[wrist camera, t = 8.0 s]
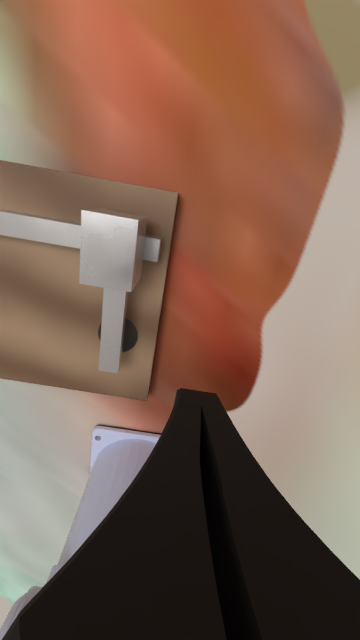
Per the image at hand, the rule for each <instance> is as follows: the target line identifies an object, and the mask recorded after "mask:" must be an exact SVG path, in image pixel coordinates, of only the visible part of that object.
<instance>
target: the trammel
mask: <svg viewBox="0 0 360 640" xmlns="http://www.w3.org/2000/svg"><path fill="white" fill-rule="evenodd" d="M147 218H148V217H144V216H139V215H133V214H128V213H122V212H117V211H111V210H105V209H87V210H81V223H80V222H74V221H68V220H63V219H57V218H52V217H46V216H40V215H35V214H29V213H23V212H18V211H12V210H6V209H1V208H0V235H4V236H10V237H15V238H21V239H27V240H33V241H38V242H44V243H50V244H56V245H61V246H67V247H73V248H79V249H80V280H79V284H85V285H91V286H97V287H103V288H104V292H103V308H102V324H101V340H100V356H99V371H105V372H112V373H119V370H120V368H121V359H122V349H123V339H124V329H125V318H126V308H127V298H128V292H132V290H133V289H134V287H135V285H136V284H137V282H138V281H139V279H140V278H141V271H142V262H143V260H148V261H153V262H158V260H159V258H160V251H161V244H162V237H159V236H153V235H147V234H146V227H147Z"/></svg>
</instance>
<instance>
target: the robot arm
mask: <svg viewBox="0 0 360 640" xmlns="http://www.w3.org/2000/svg"><path fill="white" fill-rule="evenodd" d="M98 436H100V437H98ZM0 640H360V580H359V579H358V578H357V577H356V576H355V575H354V574H353V573H352V572H351V571H350V570H349V569H348V568H347V567H346V566H345V565H344V564H343V563H342V562H341V561H340V560H339V559H338V557H337V556H335V554H333V552H332V551H331V550H330V549H329V548H328V547H327V546H326V545H325V544H324V543H323V542H322V540H321V539H320V538H319V537H318V536H317V535H316V534H315V533H314V532H313V531H312V530H311V529H310V528H309V526H308V525H307V524H306V523H305V522H304V521H303V520H302V519H301V517H300V516H299V515H298V514H297V513H296V512H295V511H294V509H293V508H292V507H291V506H290V505H289V503H288V502H287V501H286V500H285V498H284V497H283V496H282V495H281V493H280V492H279V491H278V490H277V488H276V487H275V486H274V484H273V483H272V482H271V481H270V479H269V478H268V477H267V475H266V474H265V472H264V471H263V469H262V468H261V467H260V465H259V464H258V462H257V461H256V459H255V458H254V457H253V455H252V454H251V452H250V451H249V449H248V448H247V446H246V444H245V443H244V441H243V439H242V438H241V436H240V435H239V433H238V431H237V430H236V428H235V426H234V425H233V423H232V421H231V419H230V418H229V416H228V414H227V412H226V411H225V409H224V407H223V405H222V403H221V401H220V399H219V397H218V396H217V394H215V393H208V392H202V391H195V390H189V389H183V388H180V389H179V390H177V393H176V398H175V403H174V407H173V410H172V412H171V415H170V417H169V419H168V421H167V424H166V426H165V428H164V430H163V432H162V434H161V435H158V434H151V433H145V432H138V431H131V430H125V429H118V428H111V427H105V426H95V427H94V429H93V431H92V445H91V462H90V477H89V479H88V482H87V485H86V488H85V490H84V493H83V496H82V499H81V501H80V504H79V507H78V510H77V512H76V515H75V518H74V521H73V523H72V526H71V529H70V532H69V534H68V537H67V540H66V543H65V545H64V548H63V551H62V554H61V556H60V559H59V562H58V565H55V566H53V567H52V570H51V573H50V575H49V578H48V581H47V583H46V584H45V585H44V586H43V587H38V586H33V587H31V588H30V589H29V590H28V592H27V593H25V594H24V595H23V596H21V597H20V598H19V599H18V600H17V601H16V602H15V603H14V605H13V606H12V608H11V610H10V612H9V613H8V615H7V617H6V619H5V621H4V623H3V625H2V627H1V629H0Z"/></svg>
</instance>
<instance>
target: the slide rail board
mask: <svg viewBox="0 0 360 640" xmlns="http://www.w3.org/2000/svg"><path fill="white" fill-rule="evenodd" d="M178 195H179V193H176V192H170V191H165V190H160V189H154V188H149V187H143V186H138V185H132V184H127V183H121V182H116V181H111V180H105V179H100V178H94V177H89V176H83V175H78V174H73V173H67V172H62V171H56V170H51V169H45V168H40V167H34V166H29V165H24V164H18V163H13V162H7V161H2V160H0V208H1V209H6V210H12V211H18V212H23V213H29V214H35V215H40V216H46V217H52V218H57V219H63V220H68V221H74V222H80V223H81V210H87V209H105V210H111V211H117V212H122V213H128V214H133V215H139V216H144V217H148V218H147V227H146V234H147V235H153V236H159V237H162V244H161V251H160V258H159V260H158V262H153V261H148V260H143V262H142V271H141V278H140V279H139V281H138V282H137V284H136V285H135V287H134V289H133V290H132V292H128V298H127V308H126V318H125V329H124V339H123V349H122V359H121V368H120V370H119V373H112V372H105V371H99V356H100V340H101V324H102V308H103V292H104V288H103V287H97V286H91V285H85V284H79V280H80V249H79V248H73V247H67V246H61V245H56V244H50V243H44V242H38V241H33V240H27V239H21V238H15V237H10V236H4V235H0V378H2V379H8V380H15V381H21V382H27V383H34V384H40V385H47V386H53V387H60V388H66V389H73V390H79V391H86V392H92V393H99V394H105V395H112V396H118V397H125V398H131V399H137V400H144V401H147V397H148V393H149V387H150V380H151V374H152V367H153V360H154V354H155V347H156V340H157V334H158V327H159V321H160V314H161V307H162V301H163V294H164V288H165V281H166V274H167V268H168V261H169V255H170V248H171V241H172V235H173V228H174V221H175V215H176V208H177V202H178Z"/></svg>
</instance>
